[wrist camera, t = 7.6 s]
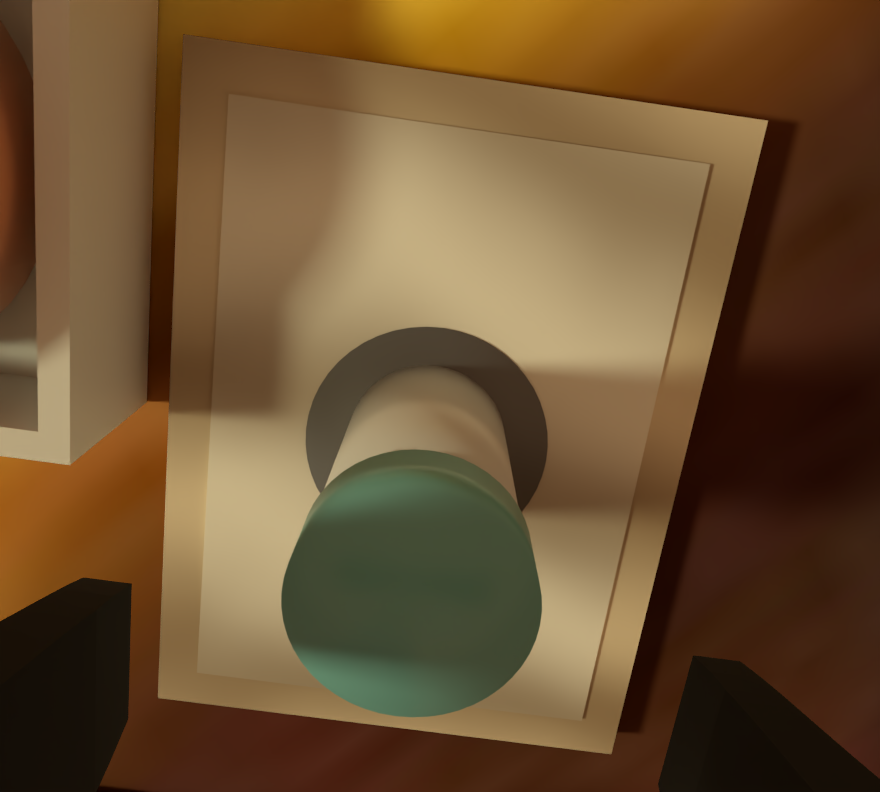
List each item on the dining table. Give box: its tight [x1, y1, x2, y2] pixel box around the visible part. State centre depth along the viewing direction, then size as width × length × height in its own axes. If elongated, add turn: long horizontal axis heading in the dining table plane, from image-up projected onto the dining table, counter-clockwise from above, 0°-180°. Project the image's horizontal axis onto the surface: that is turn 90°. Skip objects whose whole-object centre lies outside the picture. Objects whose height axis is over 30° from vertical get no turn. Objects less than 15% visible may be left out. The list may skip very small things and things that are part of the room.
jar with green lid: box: [281, 365, 542, 717], centre depth 15 cm, size 4×4×7 cm
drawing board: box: [158, 34, 768, 754], centre depth 19 cm, size 16×12×1 cm
